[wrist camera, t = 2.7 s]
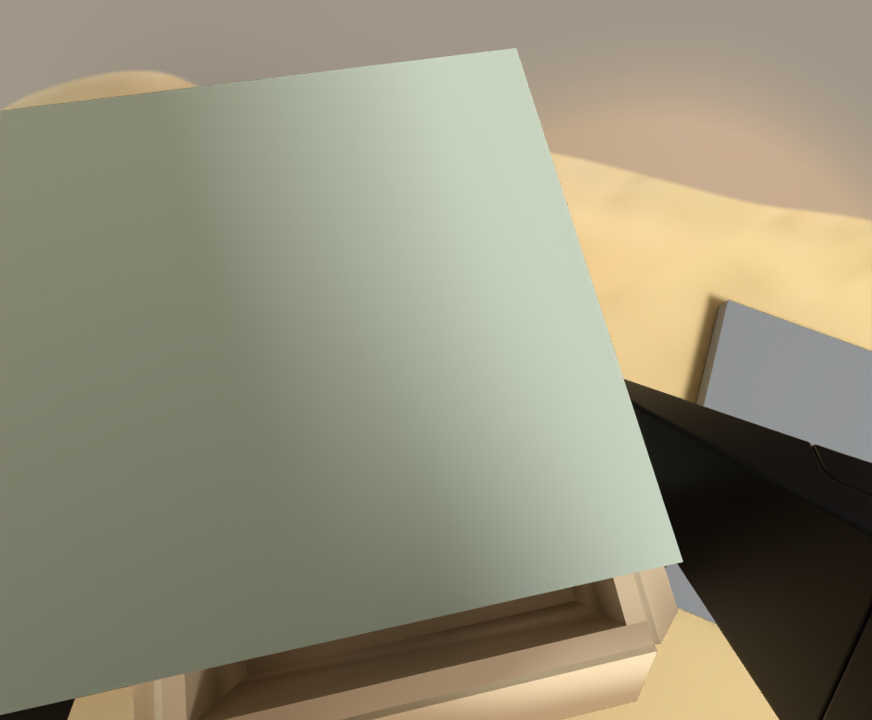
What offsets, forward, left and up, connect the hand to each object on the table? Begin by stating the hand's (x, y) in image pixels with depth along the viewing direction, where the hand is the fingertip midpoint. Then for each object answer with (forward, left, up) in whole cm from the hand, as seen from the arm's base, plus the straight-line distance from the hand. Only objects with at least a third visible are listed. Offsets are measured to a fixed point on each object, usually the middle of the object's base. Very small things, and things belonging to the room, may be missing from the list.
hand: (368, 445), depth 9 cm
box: (0, 0, -8) cm, 8 cm away
